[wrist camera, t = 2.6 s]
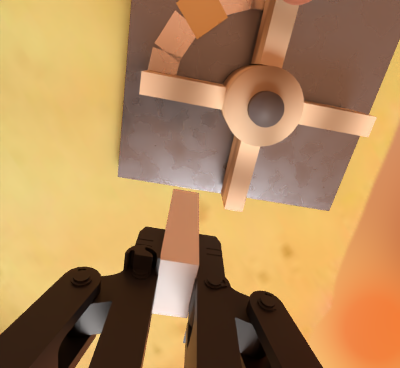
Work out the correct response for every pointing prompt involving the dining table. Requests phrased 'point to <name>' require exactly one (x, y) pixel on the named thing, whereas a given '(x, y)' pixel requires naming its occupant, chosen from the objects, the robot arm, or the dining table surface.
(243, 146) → the capstan
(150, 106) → the stand
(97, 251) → the dining table surface
